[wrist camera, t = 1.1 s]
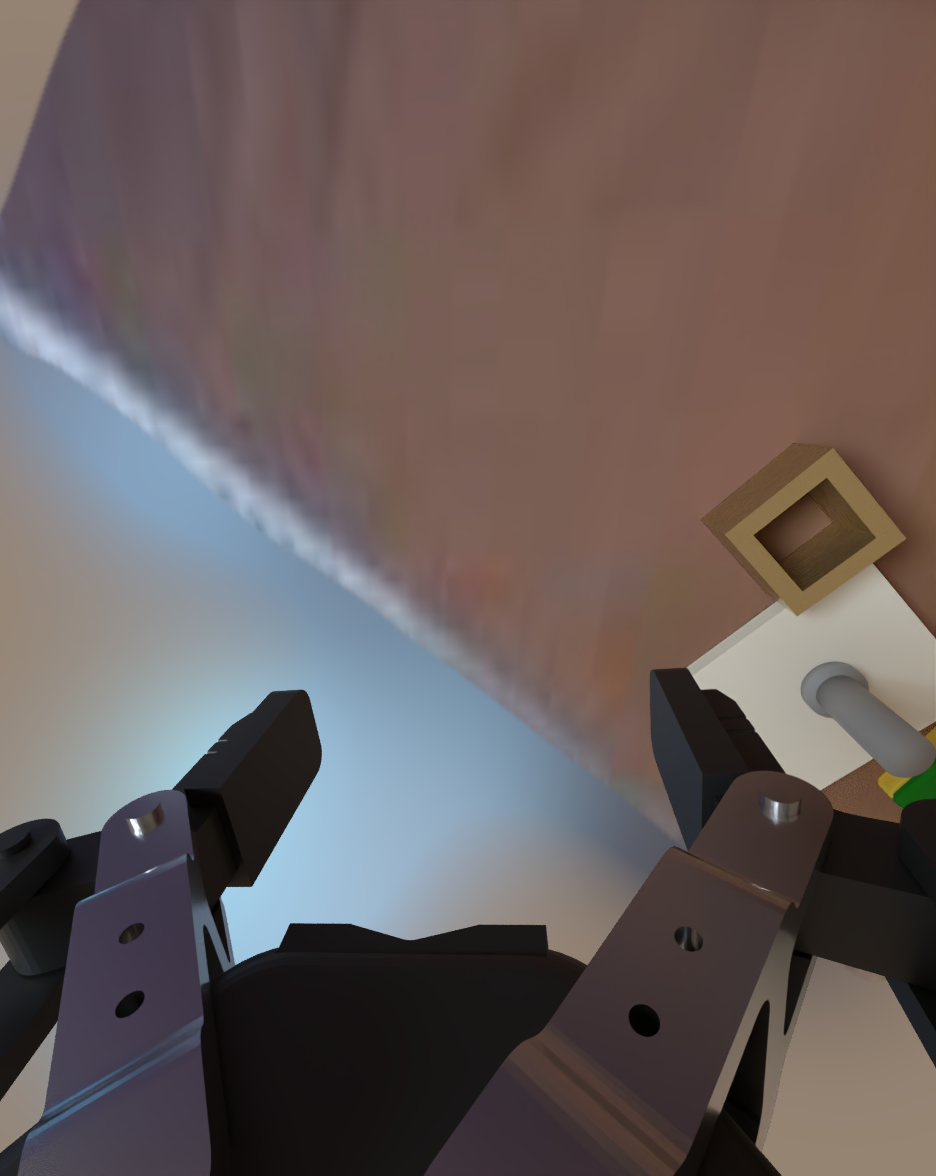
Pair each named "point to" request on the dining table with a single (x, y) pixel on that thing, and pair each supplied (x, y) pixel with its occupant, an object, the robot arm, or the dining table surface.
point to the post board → (811, 642)
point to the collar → (828, 554)
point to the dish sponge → (911, 783)
